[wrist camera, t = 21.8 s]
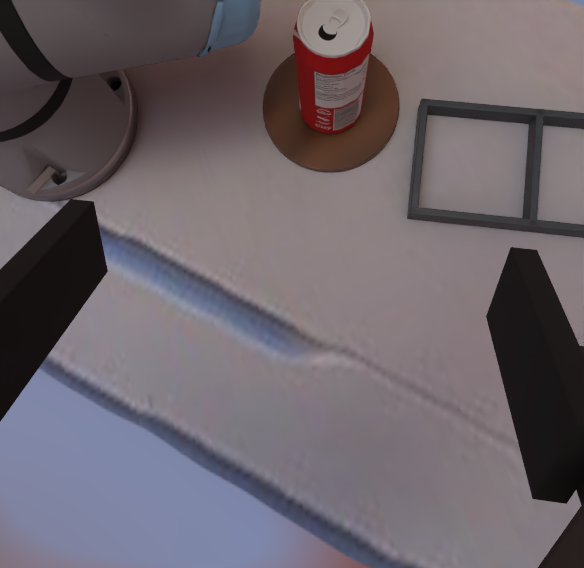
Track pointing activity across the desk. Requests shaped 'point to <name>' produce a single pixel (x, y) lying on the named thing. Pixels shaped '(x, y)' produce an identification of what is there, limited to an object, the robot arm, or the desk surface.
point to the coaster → (338, 146)
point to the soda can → (332, 62)
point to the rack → (536, 123)
